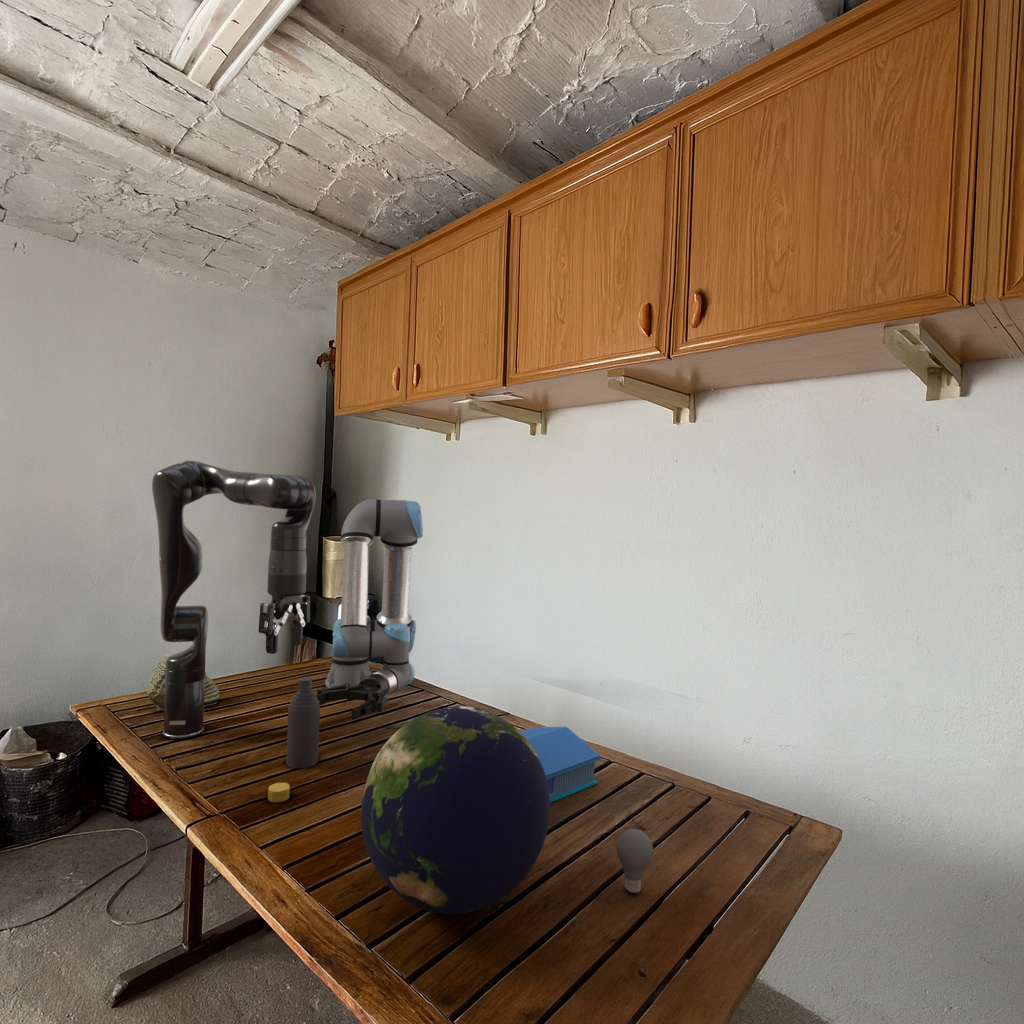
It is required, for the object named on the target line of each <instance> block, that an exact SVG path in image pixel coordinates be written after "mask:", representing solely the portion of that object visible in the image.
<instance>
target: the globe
mask: <svg viewBox="0 0 1024 1024" xmlns="http://www.w3.org/2000/svg"><path fill="white" fill-rule="evenodd" d="M462 706H463V707H458V706H448V707H442V708H436V709H434V710H431V711H427V712H424V713H422V714H420V715H419V716H417V717H415V718H413V719H411V720H410V721H408V722H407V723H405V724H404V725H402V727H400V728H398V730H397V731H396V732H394V734H392V736H391V737H390V738H388V740H387V741H386V742H385V743H384V745H383V746H382V747H381V748H380V750H379V752H378V753H377V755H376V757H375V759H374V760H373V763H372V765H371V767H370V769H369V772H368V773H367V777H366V780H365V784H364V787H363V790H362V791H363V792H362V796H361V797H362V798H361V807H360V819H361V821H360V823H361V831H362V836H363V837H362V838H363V841H364V842H363V843H364V845H365V849H366V852H367V854H368V857H369V859H370V861H371V864H372V865H373V867H374V869H375V870H376V872H377V874H378V875H379V877H380V878H381V879H382V880H383V882H384V883H385V884H386V885H387V887H389V889H390V890H392V891H393V892H394V893H395V894H396V895H397V896H398V897H400V898H401V899H402V900H404V901H405V902H407V903H409V904H410V905H412V906H414V907H417V908H419V909H421V910H423V911H428V912H430V913H436V914H441V915H463V914H468V913H474V912H477V911H481V910H483V909H486V908H488V907H490V906H492V905H494V904H496V903H499V901H501V900H502V899H504V898H505V897H507V896H508V895H509V894H511V893H512V892H513V891H514V890H515V889H516V888H517V887H518V886H519V885H520V884H522V882H524V879H525V878H526V877H527V876H528V875H529V873H530V872H531V870H532V869H533V867H534V865H535V864H536V862H537V860H538V858H539V856H540V854H541V852H542V849H543V847H544V844H545V842H546V838H547V833H548V828H549V825H550V824H549V823H550V814H551V803H550V798H549V789H548V784H547V780H546V776H545V773H544V770H543V767H542V765H541V762H540V759H539V757H538V755H537V754H536V752H535V750H534V749H533V747H532V745H531V744H530V743H529V742H528V740H527V739H526V738H525V737H524V736H523V735H522V734H521V733H520V731H519V730H518V729H517V728H516V727H515V726H514V725H513V724H511V723H510V722H508V721H507V720H506V719H504V718H502V717H500V716H499V715H496V714H494V713H492V712H489V711H487V710H484V709H481V708H477V707H473V706H464V705H462Z"/></svg>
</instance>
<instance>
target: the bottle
mask: <svg viewBox="0 0 1024 1024" xmlns="http://www.w3.org/2000/svg"><path fill="white" fill-rule="evenodd" d="M297 681H298V689H297V690H296V693H295V694H294V695H293V697H292V699H291V701H290V702H289V705H288V707H287V734H286V757H285V759H286V760H285V764H286V766H287V767H289V768H292V769H305V768H306V769H307V768H311V767H313V766H315V765H316V764H318V762H319V749H320V748H319V747H320V724H321V723H320V718H321V705H320V704H319V700H317V697H316V696H317V695H316V694H315V693H314V690H313V689H312V687H313V678H312V677H309V676H304V677H299V678H298V680H297Z"/></svg>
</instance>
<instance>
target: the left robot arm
mask: <svg viewBox="0 0 1024 1024" xmlns="http://www.w3.org/2000/svg"><path fill="white" fill-rule="evenodd" d="M151 491H152V492H151V493H152V497H153V505H154V510H155V515H156V522H157V533H158V534H157V535H158V563H159V564H158V565H159V575H160V577H159V578H160V590H161V599H160V600H161V601H160V635H161V638H162V641H165V642H167V643H189V642H190V643H191V642H192V645H190V646H189V647H187V648H186V649H183V650H182V651H179V652H176V653H174V654H170V655H171V656H169V657H168V658H167V660H166V674H165V705H164V710H163V731H162V737H164V738H166V739H169V740H185V739H190V738H191V739H192V738H194V737H197V736H199V735H202V734H203V732H204V730H205V729H204V726H205V725H204V722H205V721H204V718H205V706H204V693H205V672H206V656H207V655H206V654H207V653H206V652H207V649H206V648H207V637H208V636H207V635H208V627H209V611H208V609H207V607H206V606H205V605H177V604H178V603H179V600H180V599H181V598H182V596H183V595H184V594H185V593H186V592H187V590H189V589H190V587H191V586H192V585H193V584H194V583H195V582H196V580H198V578H199V577H200V575H201V573H202V570H203V548H202V544H201V542H200V540H199V539H198V538H197V537H196V535H195V534H194V533H193V532H192V531H190V529H189V528H188V527H187V526H186V525H185V521H184V509H185V506H186V505H189V504H191V503H194V502H196V501H199V500H200V499H202V498H203V497H205V496H209V495H216V494H222V495H223V496H224V497H225V499H227V500H228V501H229V502H232V503H235V504H238V505H246V506H256V507H265V508H269V509H275V510H286V511H285V513H284V517H283V518H282V519H280V520H277V521H275V522H273V523H272V525H271V527H270V528H271V529H270V547H269V549H270V550H269V555H268V565H267V567H268V568H267V594H268V595H269V596H271V601H270V602H269V603H268V602H261V603H260V605H259V617H258V631H257V632H258V633H259V634H263V635H265V652H266V653H267V654H270V655H275V654H277V653H278V649H279V647H278V646H279V632H280V629H281V628H282V627H284V625H285V624H286V622H287V621H290V623H291V637H290V638H291V639H290V644H291V645H294V646H300V645H302V644H303V638H304V637H303V636H304V635H303V633H304V632H303V631H304V627H305V626H306V624H308V623H310V622H311V596H310V595H309V594H305V593H306V592H307V591H306V590H307V569H308V567H307V565H308V559H307V557H308V556H307V533H308V532H307V531H308V528H309V525H310V522H311V518H312V515H313V512H314V508H315V504H316V499H317V493H316V487H315V485H314V483H313V481H312V480H311V479H310V478H309V477H307V476H303V475H291V474H273V473H271V474H270V473H268V474H266V473H263V472H252V471H251V472H249V471H237V470H230V469H226V468H222V467H217V466H214V465H211V464H207V463H205V462H202V461H196V460H184V461H180V462H177V463H175V464H172V465H168V466H166V467H164V468H161V469H159V470H158V471H156V472H155V473H154V475H153V476H152V482H151ZM303 612H304V613H303ZM265 623H267V624H266V626H265Z"/></svg>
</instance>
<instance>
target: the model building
mask: <svg viewBox="0 0 1024 1024" xmlns="http://www.w3.org/2000/svg"><path fill="white" fill-rule="evenodd" d="M519 732H520V733H521V734H522V735H523V736H524V737H525V738H526V739H527V740H528V742H529V743H530V744H531V745H532V747H533V749H534V750H535V752H536V754H537V755H538V757H539V759H540V762H541V765H542V767H543V770H544V773H545V776H546V780H547V784H548V789H549V798H550V804H551V803H554V802H556V801H558V800H561V799H563V798H566V797H568V796H572V794H576V793H578V792H581V791H583V790H585V789H587V788H590V787H592V786H594V785H597V784H598V781H597V780H596V779H595V763H596V762H598V761H600V760H601V754H600V753H599V752H598V751H596V750H595V749H594V748H593V747H591V746H590V745H589V744H588V743H587V742H586V741H584V740H583V739H582V738H580V737H579V736H578V735H577V734H576V733H574V731H572V730H571V729H570V728H569V727H568V726H536V727H535V726H534V727H531V728H528V729H524V730H521V731H519Z"/></svg>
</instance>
